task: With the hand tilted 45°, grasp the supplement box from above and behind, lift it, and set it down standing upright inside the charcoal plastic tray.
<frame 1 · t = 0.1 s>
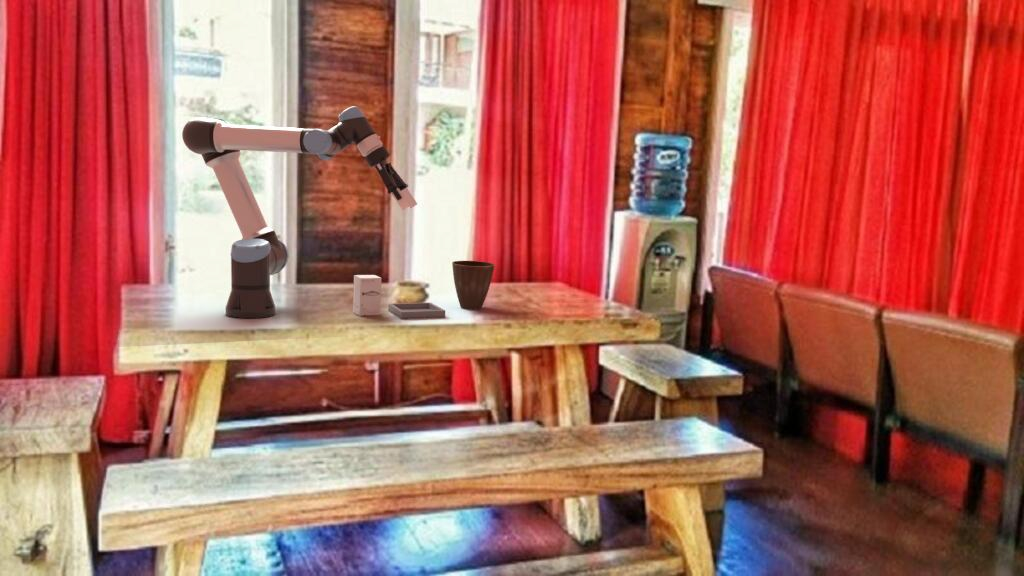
hand: (410, 207, 261), 36 cm above the table, tool tilted 35°, fingers open, 13 cm apart
supplement box: (366, 314, 266), on the table
plant pot: (471, 308, 286), on the table
tray: (416, 314, 270), on the table
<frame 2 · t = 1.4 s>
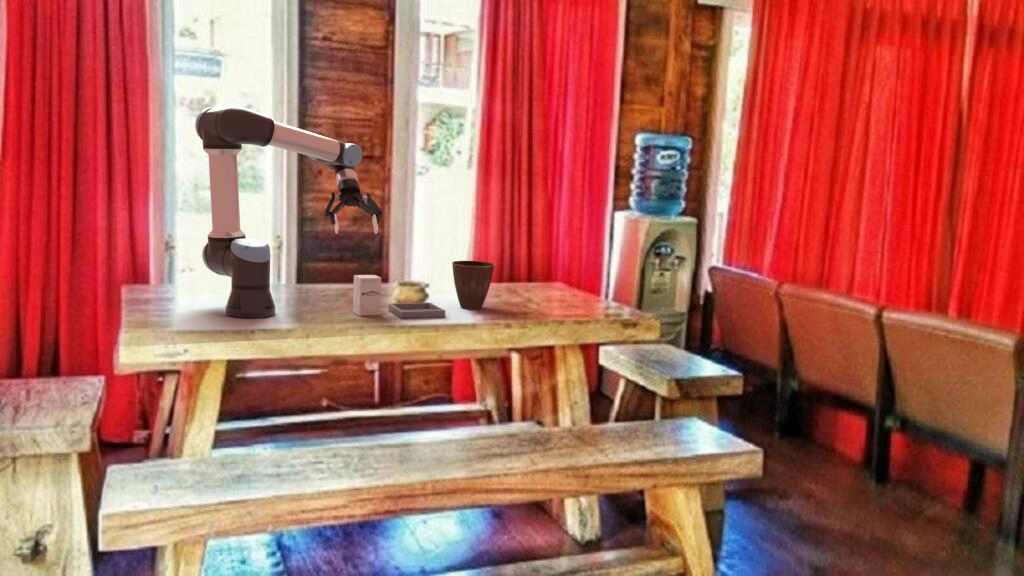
hand: (357, 231, 276), 26 cm above the table, tool tilted 45°, fingers open, 13 cm apart
nothing on the table moved.
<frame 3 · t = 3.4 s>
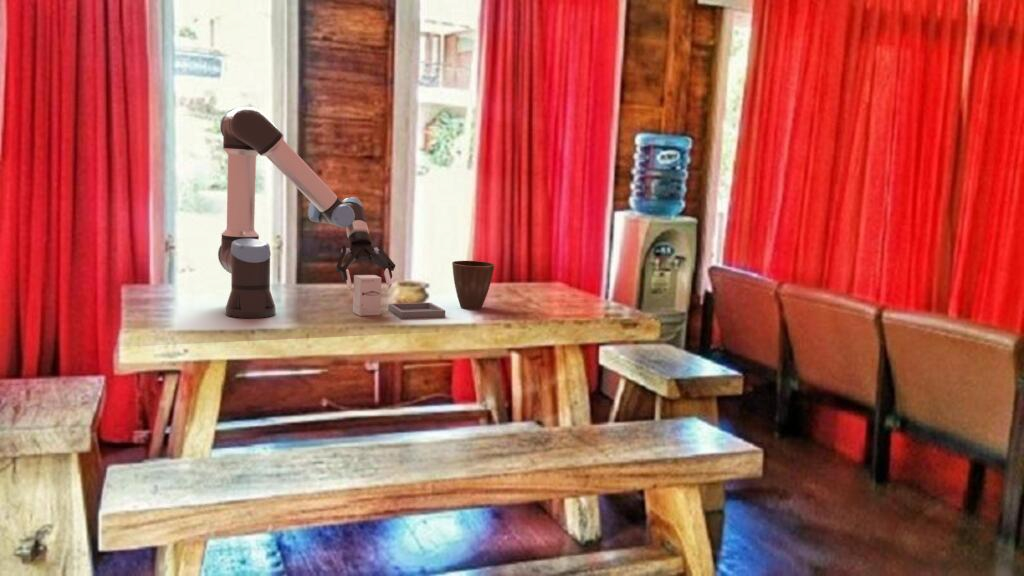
hand: (370, 287, 268), 8 cm above the table, tool tilted 45°, fingers open, 13 cm apart
nothing on the table moved.
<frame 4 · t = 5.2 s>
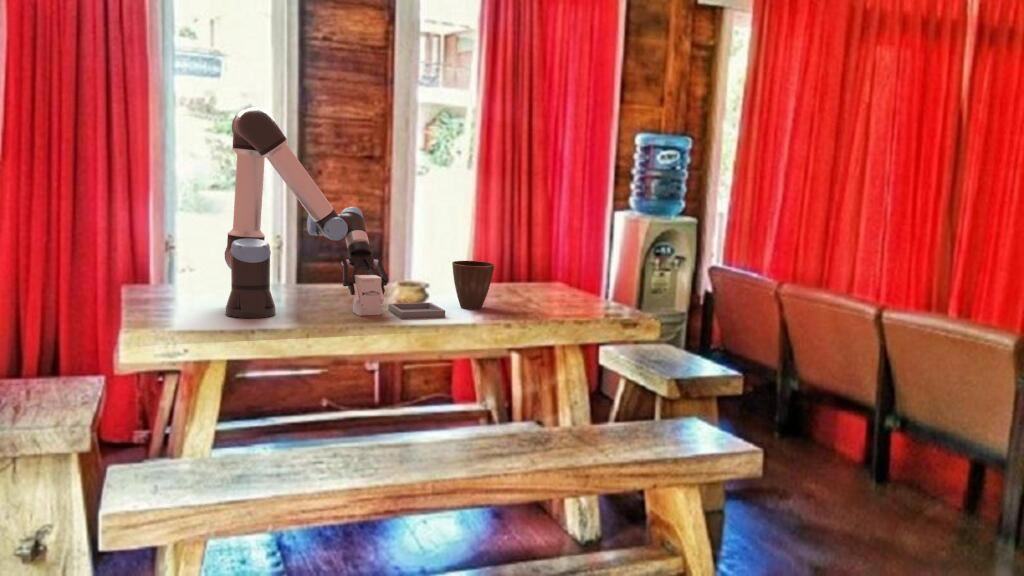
hand: (369, 301, 262), 5 cm above the table, tool tilted 45°, fingers closed on supplement box, 7 cm apart
supplement box: (366, 314, 266), on the table, touching gripper
everything else where it was.
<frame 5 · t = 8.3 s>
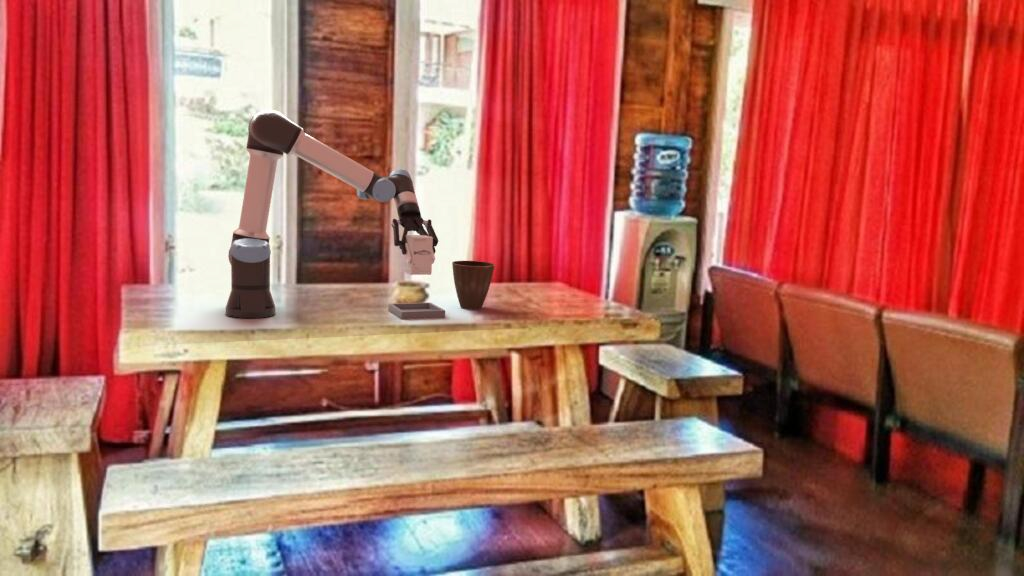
hand: (421, 261, 264), 18 cm above the table, tool tilted 45°, fingers closed on supplement box, 7 cm apart
supplement box: (417, 274, 268), point 14 cm above the table, touching gripper
everything else where it was.
when the fingers open (6 cm above the table, at t = 11.2 s): supplement box drops 1 cm, resting on tray.
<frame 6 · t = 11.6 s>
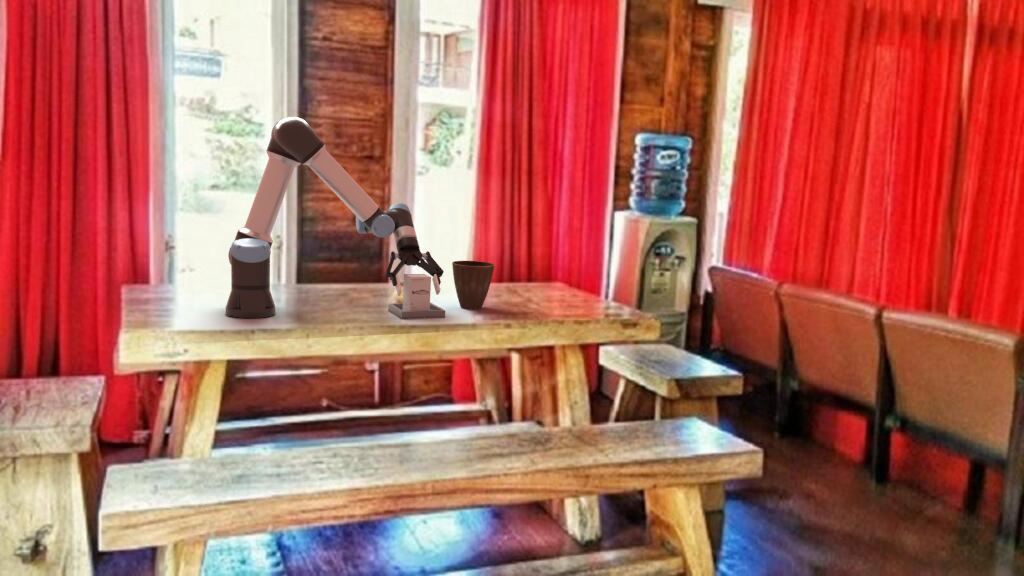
hand: (419, 292, 267), 8 cm above the table, tool tilted 45°, fingers open, 13 cm apart
supplement box: (416, 312, 270), resting on tray
everything else where it was.
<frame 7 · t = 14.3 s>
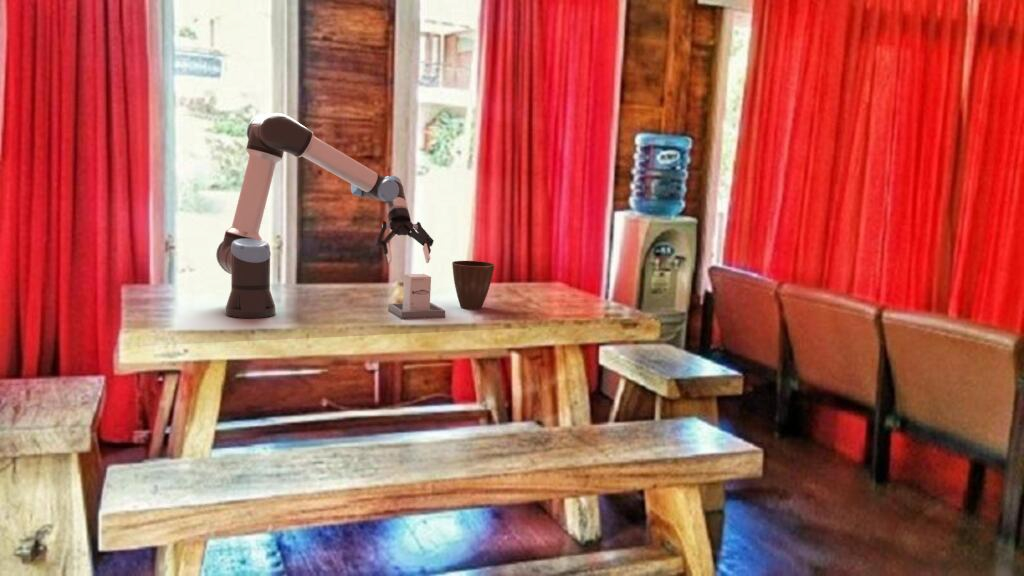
hand: (409, 260, 276), 17 cm above the table, tool tilted 45°, fingers open, 13 cm apart
nothing on the table moved.
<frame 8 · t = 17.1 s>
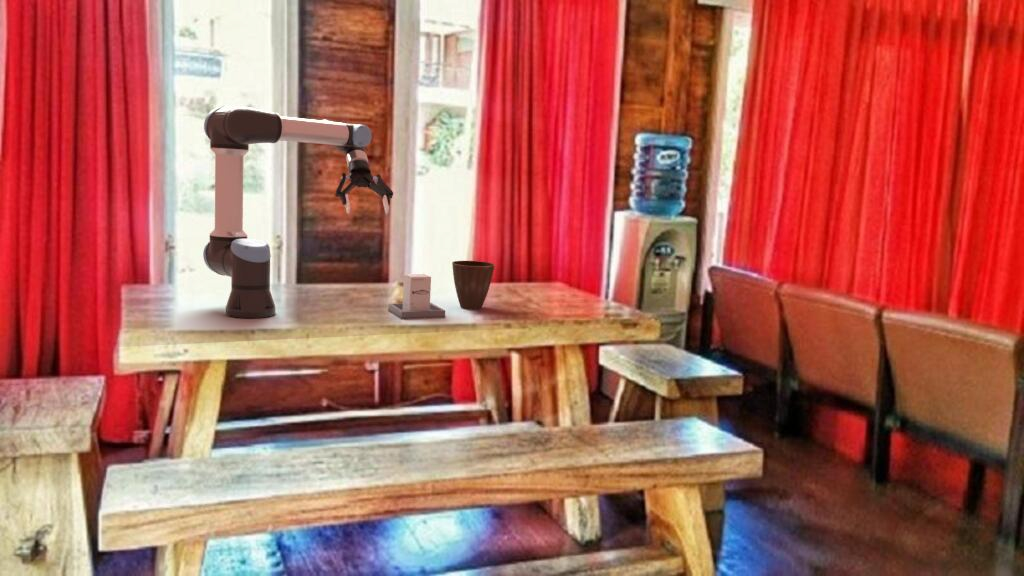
hand: (368, 211, 277), 33 cm above the table, tool tilted 45°, fingers open, 13 cm apart
nothing on the table moved.
at the end: supplement box inside the target area on the tray (0.1 cm from its centre), point 0.4 cm above the tray's base; supplement box tilted 0°; the gripper is holding nothing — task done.
